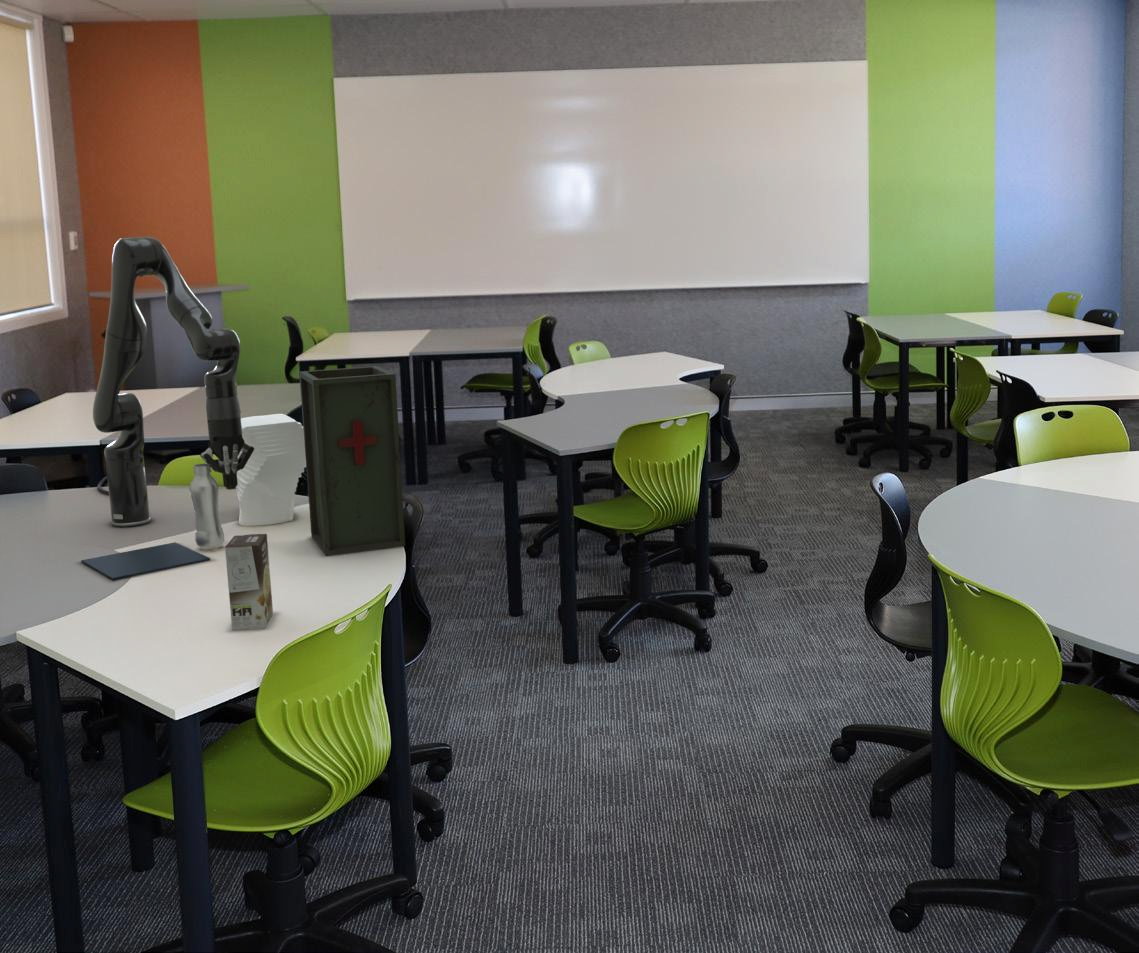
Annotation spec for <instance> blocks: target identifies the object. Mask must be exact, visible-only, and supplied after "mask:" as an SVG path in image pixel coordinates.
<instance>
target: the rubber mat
mask: <svg viewBox="0 0 1139 953" xmlns="http://www.w3.org/2000/svg"><path fill="white" fill-rule="evenodd" d="M210 561H211V557H209V556H206V555H204V554H202V553H200V552H197V551H195V550H193V549H191V548H189V547H188V546H184V545H182V544H180V543H178V542H176V541H174V542H169V543H163V544H158V545H154V546H148V547H143V548H138V549H133V550H132V549H131V550H128V551H127V550H126V551H122V552H116V553H112V554H111V553H110V554H107V555H101V556H96V557H91V558H85V559H81V560H80V563H81V564H83V565H84V566H86V567H88V568H90V569H92V571H93V570H94V571H95V572H97V573H99V574H101V575H102V576H104V577H106V578H107V579H109V580H110V581H118V580H122V579H123V580H124V579H128V578H133V577H138V576H142V575H146V574H147V575H148V574H152V573H156V572H162V571H166V570H171V569H176V568H182V567H185V566H186V567H187V566H191V565H197V564H200V563H206V562H210Z"/></svg>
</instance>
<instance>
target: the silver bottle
mask: <svg viewBox="0 0 1139 953" xmlns="http://www.w3.org/2000/svg"><path fill="white" fill-rule="evenodd" d="M211 473H212V468H211V467H210V464H207V463H206V462H205V463H198V464H194V465H193V474H194V477H193V479H192V480H191V482H190V484H189V488H188V489H189V493H190V497H191V501H192V505H193V511H194V515H195V517H194V518H195V519H194V520H195V533H194V540H195V544H196V546H197V547H198V548H199V549H200V550H215V549H219V548H221V547H223V545H224V543H225V541H226V540H225V538H226V535H225V532H224V529H223V525H222V522H221V521H222V520H221V516H220V510H219V508H220V506H219V495H220V494H219V491H220V487H219V484H218V482H217V480H216V479H215V478H214V477H213V476H212V475H211Z"/></svg>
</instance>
